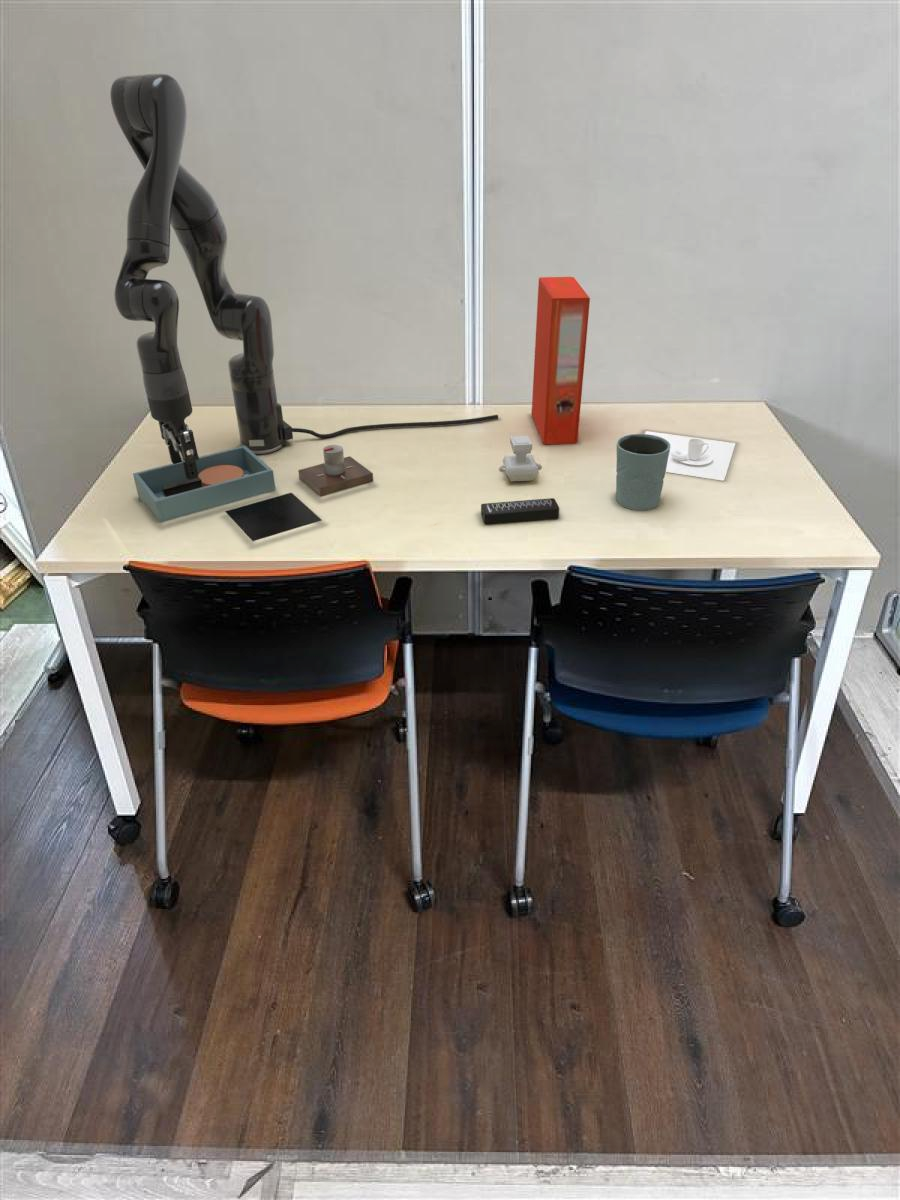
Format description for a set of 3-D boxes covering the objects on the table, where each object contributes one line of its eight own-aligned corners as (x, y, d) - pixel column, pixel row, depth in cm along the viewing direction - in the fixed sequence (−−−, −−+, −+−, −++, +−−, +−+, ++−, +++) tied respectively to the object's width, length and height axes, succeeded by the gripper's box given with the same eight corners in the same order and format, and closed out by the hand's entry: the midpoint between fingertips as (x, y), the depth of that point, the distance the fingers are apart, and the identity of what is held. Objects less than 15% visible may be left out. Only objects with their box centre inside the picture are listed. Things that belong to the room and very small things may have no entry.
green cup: (631, 516, 164) (638, 458, 157) (600, 495, 172) (605, 439, 165) (673, 504, 168) (682, 447, 161) (641, 484, 175) (648, 429, 169)
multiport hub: (559, 518, 164) (559, 508, 162) (484, 525, 162) (484, 514, 161) (553, 508, 167) (554, 497, 166) (480, 514, 166) (480, 503, 164)
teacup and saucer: (667, 463, 183) (670, 445, 181) (674, 448, 189) (676, 431, 187) (709, 469, 180) (712, 451, 178) (715, 454, 187) (718, 437, 184)
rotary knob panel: (351, 468, 183) (349, 455, 181) (373, 486, 176) (372, 472, 175) (299, 483, 178) (298, 469, 176) (321, 501, 171) (319, 487, 169)
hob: (292, 497, 173) (291, 492, 172) (322, 525, 163) (322, 520, 162) (225, 516, 166) (224, 511, 166) (253, 546, 157) (252, 541, 156)
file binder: (564, 414, 207) (573, 276, 189) (578, 443, 193) (590, 297, 175) (531, 415, 206) (537, 277, 188) (543, 444, 192) (550, 298, 174)
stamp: (500, 486, 176) (501, 447, 171) (496, 472, 181) (497, 434, 176) (544, 483, 176) (546, 445, 171) (538, 469, 182) (540, 432, 177)
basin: (248, 469, 184) (245, 445, 181) (276, 495, 174) (272, 470, 170) (138, 498, 173) (132, 473, 170) (161, 527, 163) (155, 501, 160)
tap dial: (339, 465, 178) (337, 441, 175) (348, 472, 175) (346, 448, 172) (322, 470, 176) (319, 446, 173) (330, 477, 173) (328, 453, 170)
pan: (236, 476, 180) (233, 459, 177) (252, 492, 173) (249, 475, 171) (159, 496, 172) (155, 479, 170) (173, 514, 166) (169, 496, 164)
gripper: (200, 398, 155) (216, 478, 165) (174, 375, 165) (190, 452, 175) (159, 407, 152) (178, 489, 161) (135, 384, 162) (154, 462, 171)
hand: (184, 470), depth 168 cm, fingers open, 8 cm apart
